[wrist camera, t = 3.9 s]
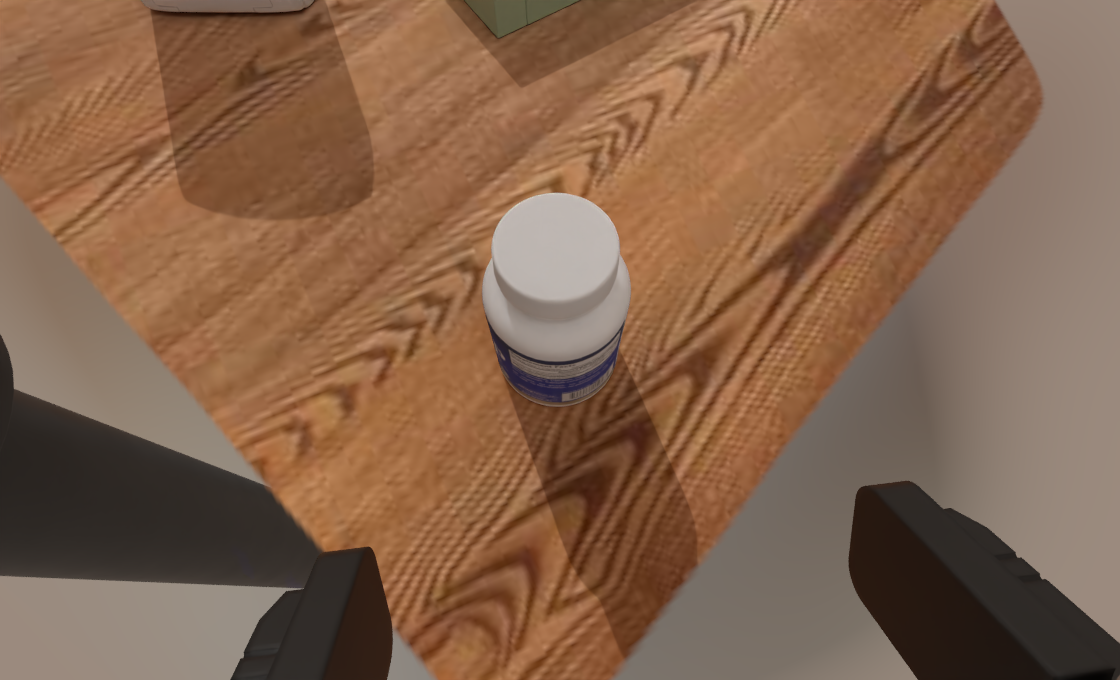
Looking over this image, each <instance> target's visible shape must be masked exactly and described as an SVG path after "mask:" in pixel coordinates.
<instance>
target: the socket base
mask: <svg viewBox="0 0 1120 680" xmlns="http://www.w3.org/2000/svg"><path fill="white" fill-rule="evenodd" d="M464 1H465V2H466V3H467V4H468V5H469V6H470V7H471V8H472V10H473V11H474V12H475V13H476V14H477V15H478V16H479V17H480V19H481V20H482V21H483V22H484V23H485V24H486V25H487V26H488V28H489V29H490V30H491V31H492V32H493V33H494V34H495V36H496V37H497V38H500V37H503V36H505V35H507V34H509V33H511V32H513V31H515V30H517V29H519V28H522V27H524V26H526V25H528V24H530V23H533V22H535V21H537V20H539V19H541V18H543V17H545V16H547V15H550V14H552V13H554V12H556V11H558V10H560V9H562V8H564V7H567V6H569V5H571V4H573V3H575V2H577V1H579V0H464Z"/></svg>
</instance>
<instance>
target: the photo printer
mask: <svg viewBox="0 0 1120 680" xmlns="http://www.w3.org/2000/svg"><path fill="white" fill-rule="evenodd" d="M141 1H142V3H143V4H144V5H145V6H146V7H148V8H150V9H153V10H159V11H169V12H258V13H262V12H289V11H298V10H302V9H303V8H307V7H308V6H310V5H311V4H312V3H313V1H314V0H141Z"/></svg>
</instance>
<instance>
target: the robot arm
mask: <svg viewBox="0 0 1120 680" xmlns="http://www.w3.org/2000/svg"><path fill="white" fill-rule="evenodd" d="M849 571H850V576H851V579H852V583H853V585H854V588H855V590H856V592H857V594H858V596H859V598H860V599H861V601H862V602H863V604H864V605H865V607H866V608H867V609H868V611H869V612H870V613H871V615H872V616H873V618H874V619H875V620H876V622H877V623H878V624H879V626H880V627H881V629H882V630H883V631H884V633H885V634H886V636H887V637H888V639H889V640H890V641H891V643H892V644H893V646H894V647H895V648H896V650H897V651H898V652H899V654H900V655H901V656H902V658H903V659H904V661H905V662H906V664H907V665H908V666H909V667H910V669H911V671H912V672H913V673H914V675H915V676H916V678H917V679H918V680H1120V643H1118V642H1117V641H1116V640H1115V639H1114V638H1113V637H1112V636H1110V635H1109V634H1108V633H1107V632H1106V631H1105V630H1104V629H1102V628H1101V627H1100V626H1099V625H1098V624H1097V623H1096V622H1094V621H1093V620H1092V619H1091V618H1090V617H1089V616H1087V615H1086V614H1085V613H1084V612H1083V611H1082V610H1081V609H1080V608H1078V607H1077V606H1076V605H1075V604H1074V603H1073V602H1071V601H1070V600H1069V599H1068V598H1067V597H1066V596H1065V595H1063V594H1062V593H1061V592H1060V591H1059V590H1058V589H1057V588H1056V587H1054V586H1053V585H1052V584H1051V583H1050V582H1049V581H1047V580H1046V579H1044V580H1042V579H1041V577H1040V573H1038V572H1037V571H1036V570H1035V569H1034V568H1033V567H1032V566H1030V565H1029V564H1028V563H1027V562H1026V561H1025V560H1024V559H1022V558H1017V556H1016V554H1015V552H1014V551H1013V550H1012V549H1011V548H1010V547H1009V546H1008V545H1006V544H1005V543H1004V542H1003V541H1002V540H1001V539H1000V538H998V537H997V536H996V535H995V534H994V533H992V531H990V530H989V529H988V528H987V527H985V526H983V525H981V524H979V523H978V522H976V521H974V520H972V519H970V518H968V517H966V516H964V515H962V514H961V513H959V512H957V511H955V510H953V509H951V508H948V509H943V508H941V507H940V506H939V505H938V504H937V503H936V502H935V501H934V500H933V499H932V498H931V497H930V496H928V495H927V494H926V493H925V492H924V491H923V490H922V489H921V488H920V487H919V486H917V485H916V484H914V483H913V482H910V481H901V482H893V483H886V484H878V485H869V486H863V487H861V488H860V489H859V490H858V492H857V494H856V499H855V508H854V516H853V525H852V533H851V542H850V551H849ZM392 644H393V634H392V622H391V617H390V613H389V609H388V605H387V601H386V597H385V593H384V589H383V585H382V581H381V577H380V573H379V569H378V565H377V561H376V557H375V554H374V552H373V550H372V548H370V547H362V548H354V549H346V550H338V551H330V552H323V553H321V554H320V555H319V556H318V558H317V560H316V562H315V564H314V566H313V569H312V571H311V573H310V576H309V578H308V581H307V583H306V585H305V588H304V589H301V590H293V591H286V592H285V593H284V594H283V595H282V596H281V597H280V598H279V600H278V601H277V602H276V603H275V604H274V605H273V606H272V607H271V608H270V609H269V610H268V611H267V613H265V615H264V616H263V617H262V618H261V619H260V620H259V622H258V624H257V626H256V628H255V630H254V632H253V634H252V636H251V638H250V640H249V643H248V645H247V647H246V649H245V651H244V658H242V659H240V661H239V663H238V665H237V667H236V669H235V672H234V673H233V676H232V678H231V680H387V677H388V672H389V667H390V663H391V657H392Z"/></svg>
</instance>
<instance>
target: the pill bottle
mask: <svg viewBox="0 0 1120 680" xmlns="http://www.w3.org/2000/svg"><path fill="white" fill-rule="evenodd" d="M491 251H492V259H491V260H490V262H489V264H488V266H487V269H486V271H485V275H484V279H483V285H482V298H483V305H484V310H485V314H486V318H487V321H488V325H489V328H490V332H491V335H492V339H493V343H494V346H495V350H496V353H497V357H498V361H499V364H500V367H501V370H502V372H503V374H504V376H505V378H506V380H507V381H508V382H509V384H510V385H511V386H512V387H513V388H514V389H515V390H516V391H517V392H518V393H519V394H520V395H522V396H523V397H525V398H527V399H528V400H530V401H532V402H535V403H538V404H541V405H545V406H553V407H563V406H570V405H574V404H577V403H580V402H583V401H585V400H587V399H589V398H590V397H592V396H593V395H595V394H596V393H597V392H598V391H599V390H601V389H602V388H603V386H604V385H605V384H606V383H607V381H608V380H609V378H610V376H611V375H612V372H613V370H614V368H615V365H616V361H617V355H618V350H619V345H620V341H621V336H622V332H623V328H624V324H625V320H626V316H627V312H628V308H629V303H630V296H631V284H630V277H629V273H628V269H627V267H626V265H625V263H624V261H623V259H622V257H621V255H620V243H619V237H618V234H617V231H616V228H615V226H614V224H613V222H612V221H611V220H610V218H609V217H608V215H607V214H606V213H605V212H604V211H603V210H602V209H600V208H599V207H598V206H596V205H595V204H594V203H592V202H590V201H588V200H586V199H584V198H581V197H578V196H575V195H570V194H565V193H547V194H541V195H537V196H533V197H531V198H528V199H526V200H524V201H522V202H520V203H518V204H517V205H515V206H514V207H513V208H511V209H510V210H509V211H508V212H507V213H506V214H505V215H504V216H503V218H502V219H501V220H500V222H499V224H498V225H497V227H496V230H495V232H494V235H493V240H492V249H491Z"/></svg>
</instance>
